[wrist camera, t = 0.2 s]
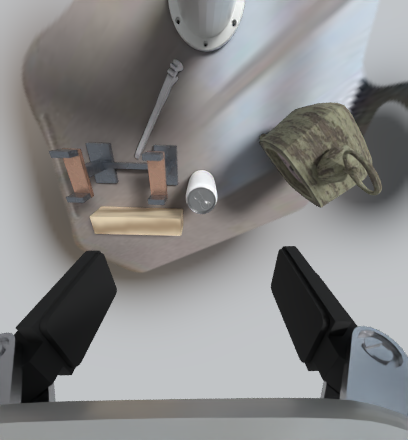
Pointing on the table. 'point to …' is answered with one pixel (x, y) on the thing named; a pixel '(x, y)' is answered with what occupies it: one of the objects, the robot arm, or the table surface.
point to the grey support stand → (106, 168)
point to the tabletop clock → (321, 152)
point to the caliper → (160, 103)
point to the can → (201, 192)
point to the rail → (138, 221)
